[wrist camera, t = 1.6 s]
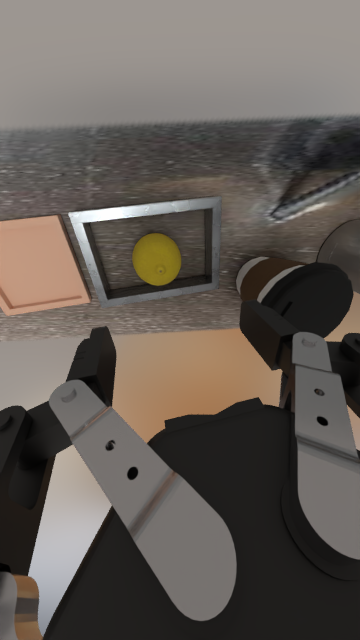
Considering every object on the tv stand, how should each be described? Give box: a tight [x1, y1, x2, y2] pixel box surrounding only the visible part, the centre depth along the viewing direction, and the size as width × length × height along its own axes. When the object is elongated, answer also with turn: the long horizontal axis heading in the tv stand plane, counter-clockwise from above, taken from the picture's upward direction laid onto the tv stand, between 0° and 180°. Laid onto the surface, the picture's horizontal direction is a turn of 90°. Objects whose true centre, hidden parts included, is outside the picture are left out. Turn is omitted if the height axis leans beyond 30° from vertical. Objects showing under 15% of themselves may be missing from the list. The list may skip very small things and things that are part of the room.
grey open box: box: [68, 196, 222, 308], centre depth 25 cm, size 16×11×3 cm
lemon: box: [132, 233, 181, 286], centre depth 23 cm, size 6×6×8 cm
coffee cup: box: [236, 257, 353, 338], centre depth 26 cm, size 11×11×12 cm
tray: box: [0, 214, 92, 316], centre depth 24 cm, size 11×11×1 cm
